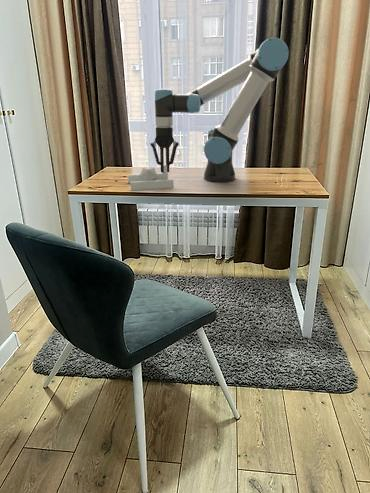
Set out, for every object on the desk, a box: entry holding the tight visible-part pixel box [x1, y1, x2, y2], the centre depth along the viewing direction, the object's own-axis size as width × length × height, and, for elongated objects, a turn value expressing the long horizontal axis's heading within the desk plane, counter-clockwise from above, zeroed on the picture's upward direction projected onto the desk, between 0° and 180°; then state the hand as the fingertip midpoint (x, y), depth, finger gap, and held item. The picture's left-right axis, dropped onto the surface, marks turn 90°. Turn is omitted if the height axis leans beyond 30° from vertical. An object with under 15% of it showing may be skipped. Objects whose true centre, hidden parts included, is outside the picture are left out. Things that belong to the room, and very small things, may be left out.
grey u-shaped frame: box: [127, 172, 175, 191], centre depth 184 cm, size 19×15×4 cm
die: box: [139, 167, 158, 181], centre depth 183 cm, size 8×9×10 cm
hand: (165, 179), depth 185 cm, fingers closed
